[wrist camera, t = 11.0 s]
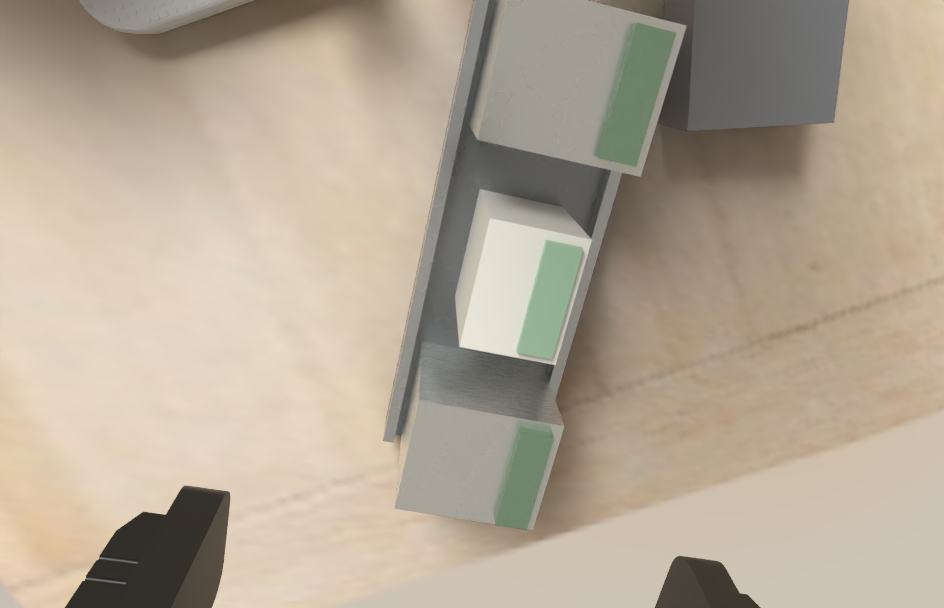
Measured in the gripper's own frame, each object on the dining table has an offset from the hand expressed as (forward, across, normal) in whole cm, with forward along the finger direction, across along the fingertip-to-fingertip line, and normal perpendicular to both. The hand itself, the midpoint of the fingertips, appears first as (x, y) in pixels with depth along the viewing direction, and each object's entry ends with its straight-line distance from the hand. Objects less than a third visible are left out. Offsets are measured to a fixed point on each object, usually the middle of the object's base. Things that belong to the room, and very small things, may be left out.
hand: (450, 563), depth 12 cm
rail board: (+27, -4, +1) cm, 27 cm away
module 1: (+25, -4, +1) cm, 26 cm away
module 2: (+27, -13, -11) cm, 32 cm away
